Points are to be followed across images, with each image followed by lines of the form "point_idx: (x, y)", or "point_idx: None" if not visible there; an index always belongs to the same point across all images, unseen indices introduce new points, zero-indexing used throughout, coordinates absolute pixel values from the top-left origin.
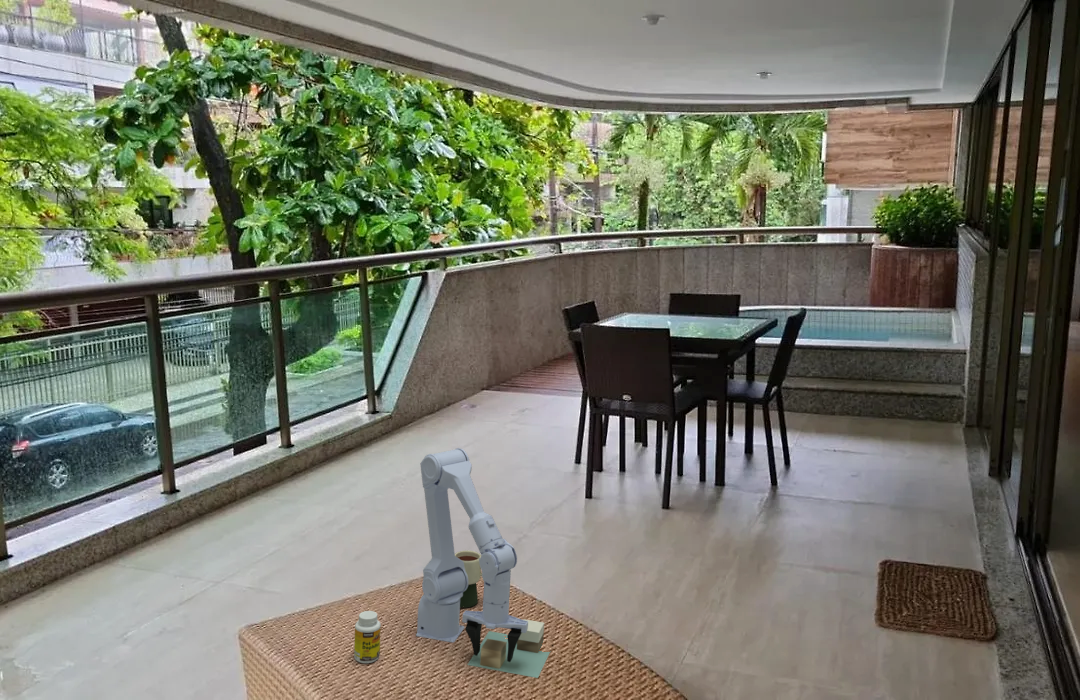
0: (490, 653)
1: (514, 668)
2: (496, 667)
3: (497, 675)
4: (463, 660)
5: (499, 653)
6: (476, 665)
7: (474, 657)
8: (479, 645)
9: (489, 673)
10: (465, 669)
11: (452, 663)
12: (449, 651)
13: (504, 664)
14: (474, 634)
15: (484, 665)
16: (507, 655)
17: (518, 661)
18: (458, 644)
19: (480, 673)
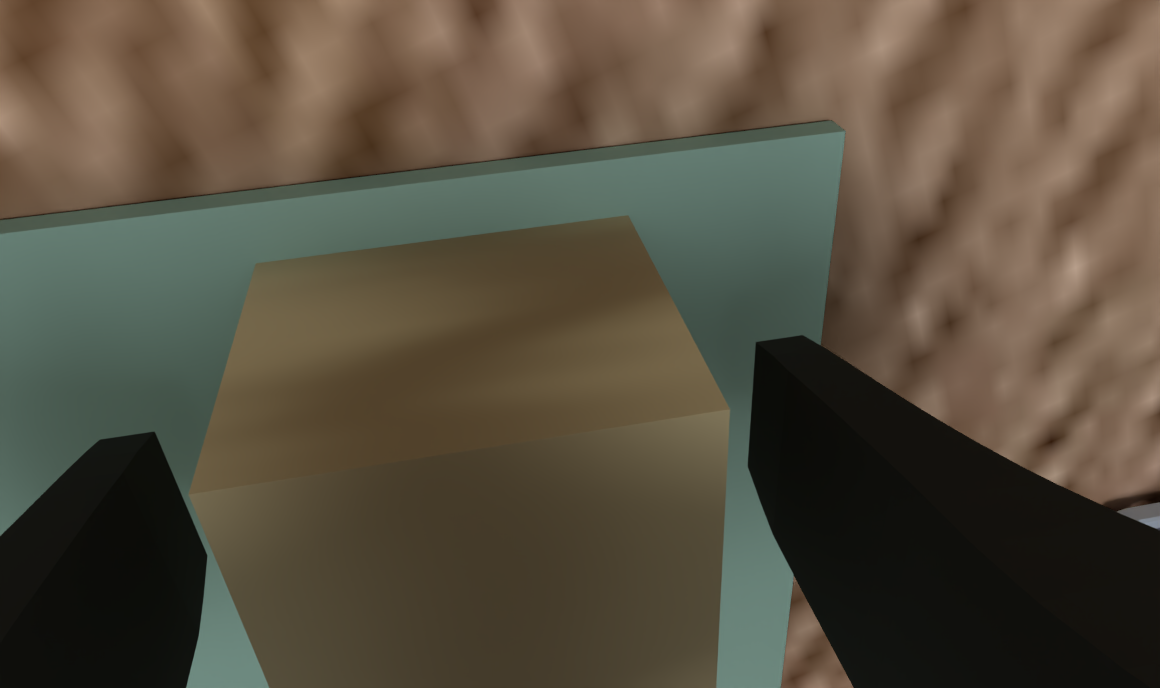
0: (469, 392)
1: (28, 381)
2: (321, 260)
3: (206, 84)
4: (922, 251)
5: (234, 455)
6: (687, 178)
7: None
8: (796, 536)
9: (382, 83)
10: (839, 16)
11: (1079, 99)
12: (1138, 358)
13: None
14: (1154, 661)
15: (553, 230)
16: (91, 507)
17: None
18: None
19: (538, 7)
